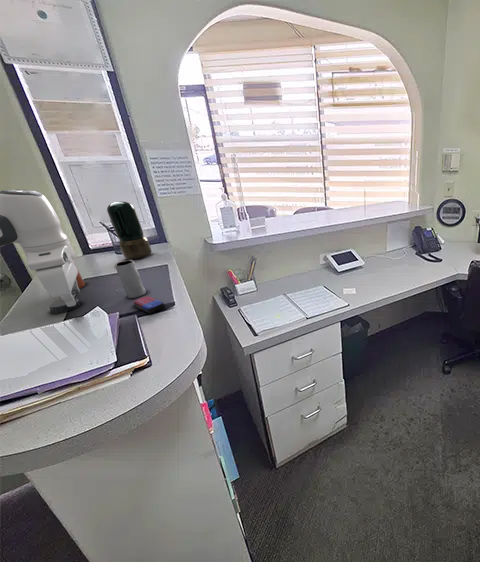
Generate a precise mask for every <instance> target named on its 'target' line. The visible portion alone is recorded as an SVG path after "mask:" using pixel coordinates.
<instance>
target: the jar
mask: <svg viewBox="0 0 480 562" xmlns="http://www.w3.org/2000/svg"><path fill="white" fill-rule="evenodd" d="M73 262H74V264H75V266H76V268H77V270H78V274H77V277H76V281H77V285H78V288H79V289H81V288H83V287H85V286H86V283H85V281H84V279H83V277H82V274H81V272H80V270H79V268H78V266H77V264H76V262H75V261H74V260H73Z"/></svg>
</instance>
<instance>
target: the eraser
mask: <svg viewBox="0 0 480 562" xmlns="http://www.w3.org/2000/svg"><path fill="white" fill-rule="evenodd" d="M133 306H134V307H135V308H137V309H139V310H140V311H143V312H146V313H147V314H150V315H151V314H153V313H155V312H157V311H159V310H161V309H163V308H165V303H164V302H163V301H160V300H159V299H156V298H153V297H151V296H149V295H146V296H142V297H139V298H137V299H135V300H134V301H133Z"/></svg>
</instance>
